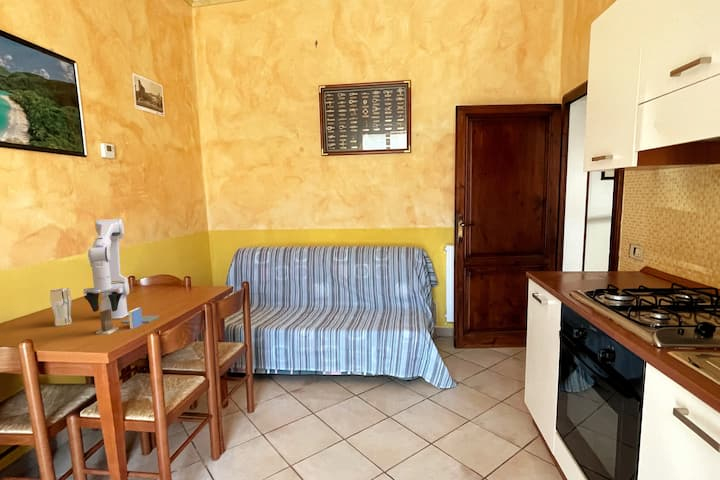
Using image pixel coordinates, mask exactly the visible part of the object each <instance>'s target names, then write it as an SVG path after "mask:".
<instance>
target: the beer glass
mask: <svg viewBox="0 0 720 480" xmlns="http://www.w3.org/2000/svg"><path fill="white" fill-rule="evenodd" d="M70 290H71V289H70V288H69V287H61V288H55V289H50V290H49V299H50V300H49V301H50V307H51V308H52V311H53V315H54V326H55V327H62V326H66V325H71V324H72V323H73V319H72V316H71V309H72V308H71V307H72V296H71V291H70Z"/></svg>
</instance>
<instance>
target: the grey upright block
mask: <svg viewBox="0 0 720 480" xmlns="http://www.w3.org/2000/svg"><path fill="white" fill-rule="evenodd" d="M99 315H100V317H99V318H100V325H101V329H100V330H98V331H96V332H95V335H109V334H112V333H114V332H116V331H117V330H119V327H118V326H113V319H112V316H111V309H107V310H104V311H102V312H101V311H100V312H99Z"/></svg>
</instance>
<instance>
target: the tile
mask: <svg viewBox="0 0 720 480" xmlns="http://www.w3.org/2000/svg"><path fill="white" fill-rule="evenodd" d="M128 312H129V315H128V318H129V322H130V323H129V328H130V329H131V330H133V329H135V328H137V327H139V326H141V325H143V324H144V323H142V316H143V314H142V307H137V308H134V309H131V310H130V311H128Z"/></svg>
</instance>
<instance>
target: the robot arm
mask: <svg viewBox="0 0 720 480" xmlns="http://www.w3.org/2000/svg"><path fill="white" fill-rule="evenodd" d="M94 225H95V226H94V227H95V231H96V233H97V235H98V236H97V237H95V238H94V242H93V245H92V247H91V248H89V249H88V251H87V252H88V253H87V255H88V256H87V257H88V261H89V265H90V268H91V272H92V281H93V287H88V288H87V287H86V288H83V295H84V296H83V297H84V299H85V300H86V301H87V302H88V304H89V306H90V307H91V309H92V312H93V313H96V312H98V311H99V309H100V312H102V311H104V310H107V309H111V316H112V320H114V319H115V320H117V319H123V318H125V317H127V316H129V312H130V311H128V305H127V303H128V302H127V296H128V295H129V294H130V283H129V280H128V278H127V277H126V276H124V275H122V273H121V258H120V255H121V254H120V240H121V239H122V238H124V236H125V235H124V234H125V230H124V227H125V226H124V221H123V220H122V218H113V219H111V218H110V219H96V220H95V224H94ZM100 294H101V296H102V297H103V298H102V300H101V302H100V304H99V298H100V297H99V295H100ZM99 305H100V307H99Z"/></svg>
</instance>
